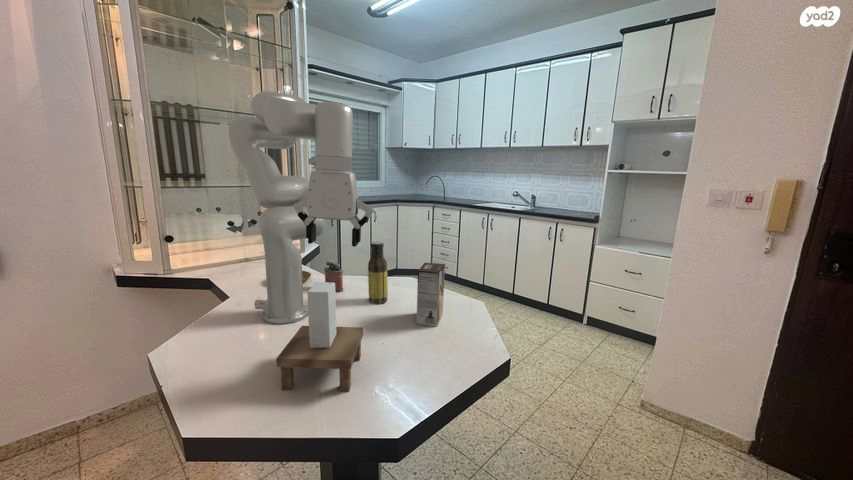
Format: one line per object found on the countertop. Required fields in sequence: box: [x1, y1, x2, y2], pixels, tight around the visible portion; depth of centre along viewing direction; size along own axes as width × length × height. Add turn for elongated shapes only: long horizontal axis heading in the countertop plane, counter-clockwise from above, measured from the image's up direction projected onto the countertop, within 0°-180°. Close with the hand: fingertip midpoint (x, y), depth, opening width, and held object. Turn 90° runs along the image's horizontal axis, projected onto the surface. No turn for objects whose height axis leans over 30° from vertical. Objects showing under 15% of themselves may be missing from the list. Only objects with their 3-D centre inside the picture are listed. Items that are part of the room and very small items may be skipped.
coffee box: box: [416, 262, 446, 327], centre depth 99 cm, size 9×6×16 cm
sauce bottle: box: [367, 240, 389, 305], centre depth 111 cm, size 6×6×20 cm
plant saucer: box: [302, 270, 312, 284], centre depth 129 cm, size 15×15×3 cm
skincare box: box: [306, 281, 337, 348], centre depth 70 cm, size 6×4×12 cm
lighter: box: [323, 261, 344, 293], centre depth 122 cm, size 8×3×10 cm, turn 58°
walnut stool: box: [276, 325, 364, 393], centre depth 72 cm, size 14×14×7 cm
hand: (333, 243), depth 76 cm, fingers open, 9 cm apart
